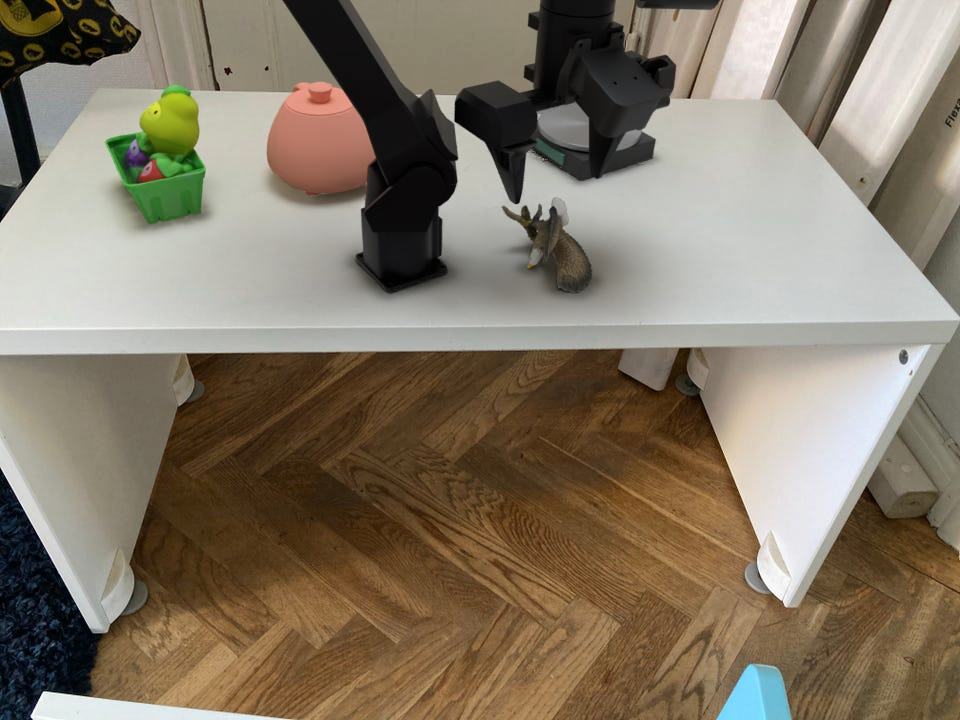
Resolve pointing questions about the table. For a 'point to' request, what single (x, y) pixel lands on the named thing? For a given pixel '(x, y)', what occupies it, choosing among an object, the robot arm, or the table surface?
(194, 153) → the fruit basket
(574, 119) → the scale pan
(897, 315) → the table surface
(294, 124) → the sugar bowl
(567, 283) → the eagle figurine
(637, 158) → the scale
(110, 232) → the table surface
